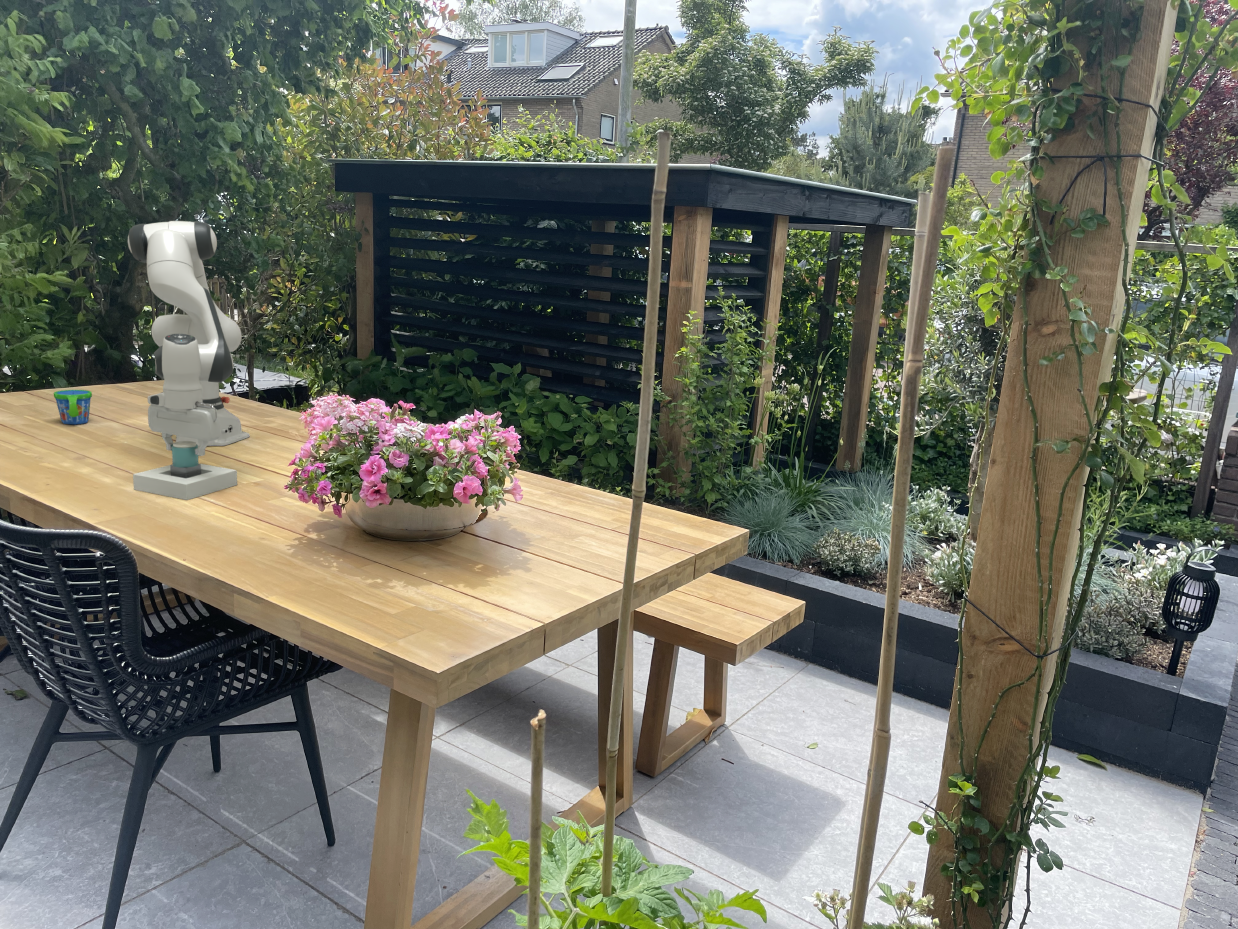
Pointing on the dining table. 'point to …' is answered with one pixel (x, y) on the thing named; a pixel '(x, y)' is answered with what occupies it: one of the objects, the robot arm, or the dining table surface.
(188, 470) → the block
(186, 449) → the teal pot
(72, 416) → the snack cup
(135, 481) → the tray
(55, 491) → the dining table surface
